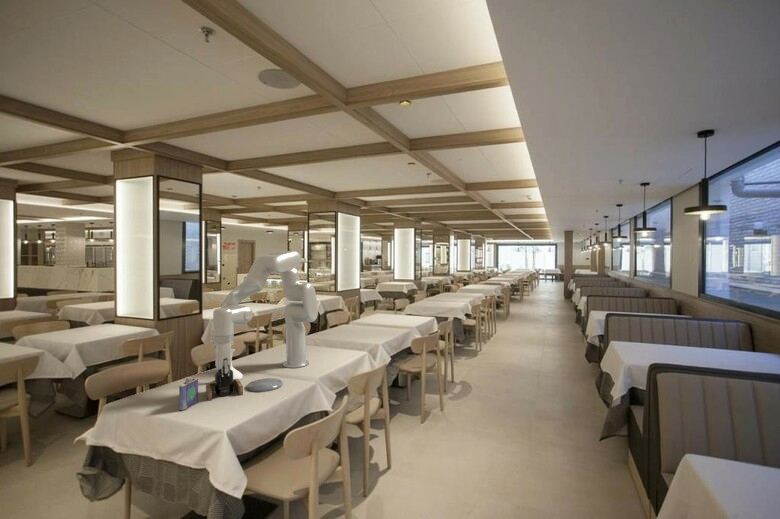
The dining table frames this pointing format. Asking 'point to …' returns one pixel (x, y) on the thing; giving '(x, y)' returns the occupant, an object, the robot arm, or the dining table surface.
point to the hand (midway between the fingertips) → (224, 383)
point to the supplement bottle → (223, 390)
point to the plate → (264, 385)
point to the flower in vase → (235, 373)
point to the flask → (188, 393)
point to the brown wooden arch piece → (211, 388)
